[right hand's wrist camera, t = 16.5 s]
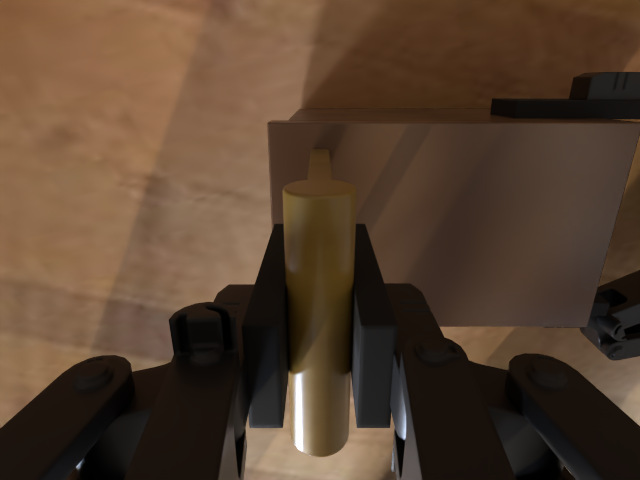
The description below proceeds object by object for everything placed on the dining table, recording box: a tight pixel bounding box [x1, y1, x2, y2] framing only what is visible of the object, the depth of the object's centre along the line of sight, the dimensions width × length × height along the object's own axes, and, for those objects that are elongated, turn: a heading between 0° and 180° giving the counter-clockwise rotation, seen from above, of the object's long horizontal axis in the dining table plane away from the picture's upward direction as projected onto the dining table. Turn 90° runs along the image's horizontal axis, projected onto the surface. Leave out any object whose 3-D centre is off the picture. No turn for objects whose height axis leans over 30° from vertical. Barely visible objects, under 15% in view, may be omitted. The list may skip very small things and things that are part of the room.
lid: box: [267, 121, 640, 457], centre depth 14 cm, size 14×9×9 cm, turn 90°
